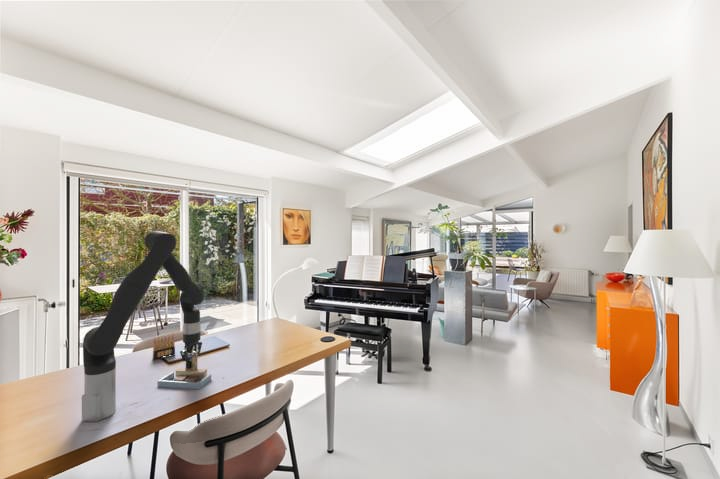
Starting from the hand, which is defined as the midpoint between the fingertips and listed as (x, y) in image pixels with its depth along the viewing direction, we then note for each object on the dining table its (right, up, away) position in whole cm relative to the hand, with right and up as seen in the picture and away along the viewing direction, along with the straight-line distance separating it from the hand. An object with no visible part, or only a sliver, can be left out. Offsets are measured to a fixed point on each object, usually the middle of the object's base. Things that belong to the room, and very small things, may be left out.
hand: (191, 366), depth 150 cm
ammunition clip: (-29, -5, +25) cm, 38 cm away
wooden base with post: (0, -5, 0) cm, 5 cm away
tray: (-1, -6, -5) cm, 8 cm away
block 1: (-3, -6, -4) cm, 7 cm away
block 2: (+3, -6, -4) cm, 8 cm away
